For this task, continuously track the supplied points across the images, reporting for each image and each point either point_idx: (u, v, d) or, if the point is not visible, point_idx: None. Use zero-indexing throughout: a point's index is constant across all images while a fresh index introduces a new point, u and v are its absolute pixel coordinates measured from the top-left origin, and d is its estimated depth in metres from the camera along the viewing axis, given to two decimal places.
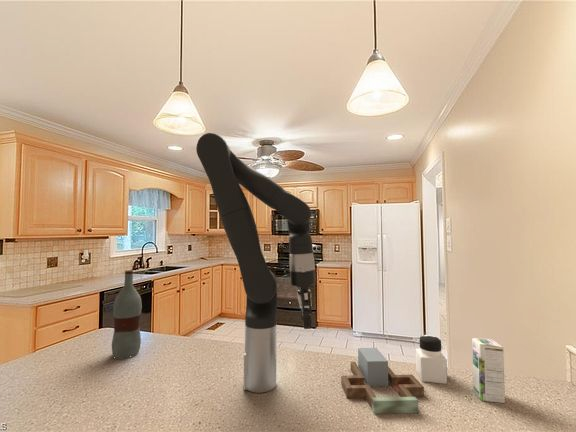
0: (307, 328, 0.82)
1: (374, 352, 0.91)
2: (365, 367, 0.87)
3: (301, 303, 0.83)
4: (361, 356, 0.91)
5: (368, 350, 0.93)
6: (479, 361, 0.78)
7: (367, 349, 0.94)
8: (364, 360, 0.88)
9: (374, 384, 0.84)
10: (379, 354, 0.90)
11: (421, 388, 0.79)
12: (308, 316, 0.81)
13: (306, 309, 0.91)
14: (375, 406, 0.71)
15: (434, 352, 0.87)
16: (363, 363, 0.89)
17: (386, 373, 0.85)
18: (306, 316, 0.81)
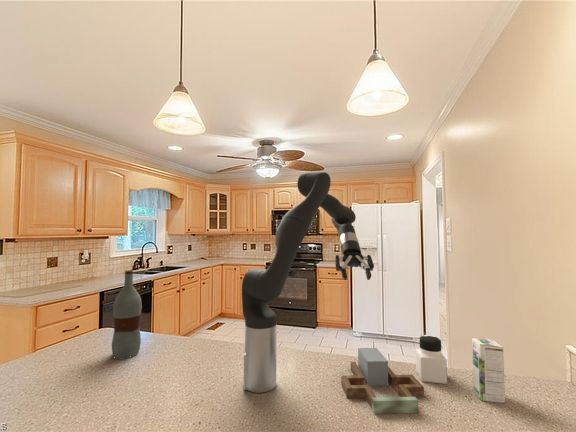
0: (369, 278, 1.08)
1: (374, 352, 0.91)
2: (365, 367, 0.87)
3: None
4: (361, 356, 0.91)
5: (368, 350, 0.93)
6: (479, 361, 0.78)
7: (367, 349, 0.94)
8: (364, 360, 0.88)
9: (374, 384, 0.84)
10: (379, 354, 0.90)
11: (421, 388, 0.79)
12: None
13: None
14: (375, 406, 0.71)
15: (434, 352, 0.87)
16: (363, 363, 0.89)
17: (386, 373, 0.85)
18: (369, 270, 1.10)
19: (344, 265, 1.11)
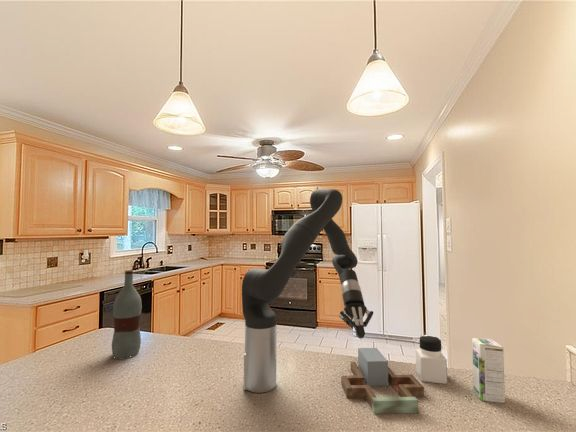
0: (363, 336, 1.01)
1: (374, 352, 0.91)
2: (365, 367, 0.87)
3: None
4: (361, 356, 0.91)
5: (368, 350, 0.93)
6: (479, 361, 0.78)
7: (367, 349, 0.94)
8: (364, 360, 0.88)
9: (374, 384, 0.84)
10: (379, 354, 0.90)
11: (421, 388, 0.79)
12: None
13: None
14: (375, 406, 0.71)
15: (434, 352, 0.87)
16: (363, 363, 0.89)
17: (386, 373, 0.85)
18: None
19: (356, 321, 1.05)
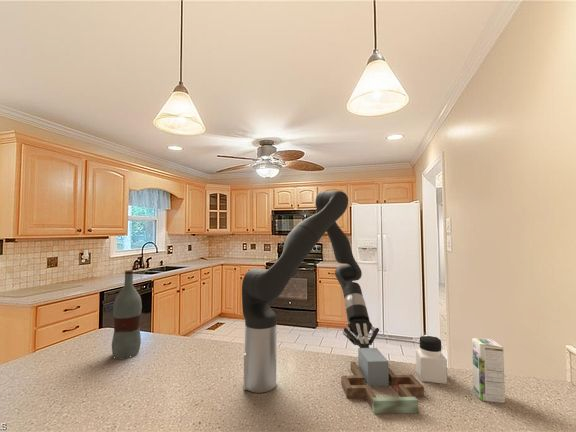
0: None
1: (375, 352, 0.91)
2: (365, 367, 0.87)
3: None
4: (361, 356, 0.91)
5: (368, 350, 0.93)
6: (479, 361, 0.78)
7: (367, 349, 0.94)
8: (364, 360, 0.88)
9: (374, 384, 0.84)
10: (379, 354, 0.90)
11: (421, 388, 0.79)
12: None
13: None
14: (375, 406, 0.71)
15: (434, 352, 0.87)
16: (363, 363, 0.89)
17: (386, 373, 0.85)
18: None
19: (360, 339, 0.98)
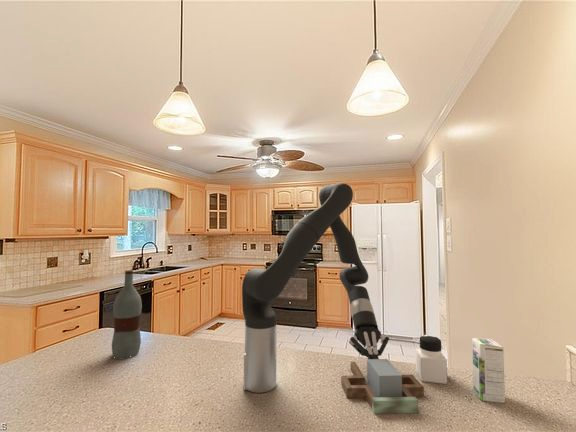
0: None
1: (386, 364, 0.82)
2: (376, 382, 0.78)
3: None
4: (371, 369, 0.82)
5: (378, 362, 0.84)
6: (479, 361, 0.78)
7: (377, 360, 0.85)
8: (375, 374, 0.79)
9: None
10: (391, 367, 0.81)
11: (421, 388, 0.79)
12: None
13: None
14: (375, 406, 0.71)
15: (434, 352, 0.87)
16: (374, 377, 0.80)
17: (400, 389, 0.76)
18: None
19: (369, 349, 0.90)
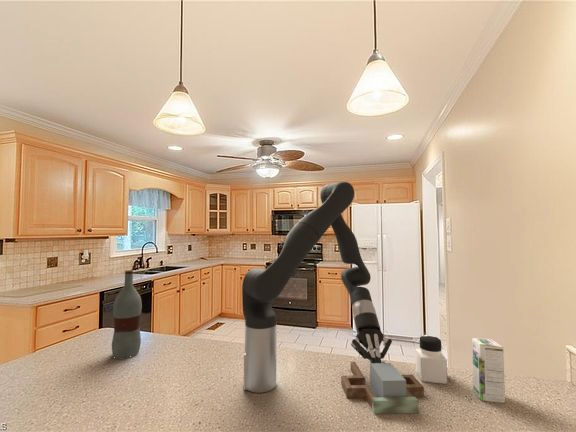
0: None
1: (389, 369, 0.80)
2: (379, 387, 0.76)
3: (378, 346, 0.89)
4: (374, 373, 0.80)
5: (381, 366, 0.81)
6: (479, 361, 0.78)
7: (380, 364, 0.83)
8: (378, 378, 0.77)
9: None
10: (395, 371, 0.79)
11: (421, 388, 0.79)
12: None
13: None
14: (375, 406, 0.71)
15: (434, 352, 0.87)
16: (377, 382, 0.78)
17: (404, 394, 0.74)
18: None
19: (371, 352, 0.87)
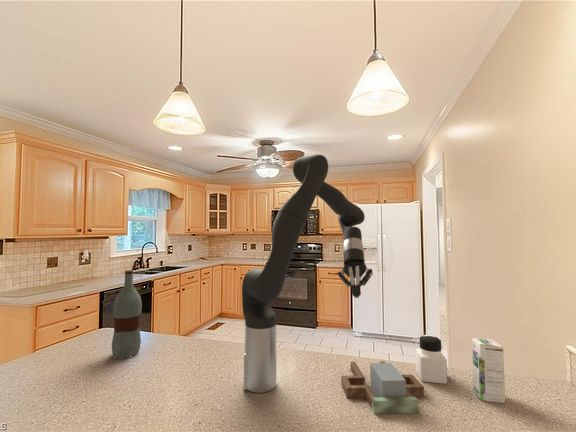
0: (358, 296, 0.99)
1: (389, 369, 0.80)
2: (379, 387, 0.76)
3: (359, 276, 1.02)
4: (374, 373, 0.80)
5: (381, 366, 0.81)
6: (479, 361, 0.78)
7: (381, 364, 0.83)
8: (378, 378, 0.77)
9: None
10: (395, 371, 0.78)
11: (421, 388, 0.79)
12: None
13: None
14: (375, 406, 0.71)
15: (434, 352, 0.87)
16: (377, 382, 0.78)
17: (404, 394, 0.74)
18: (360, 286, 1.01)
19: (352, 280, 1.02)
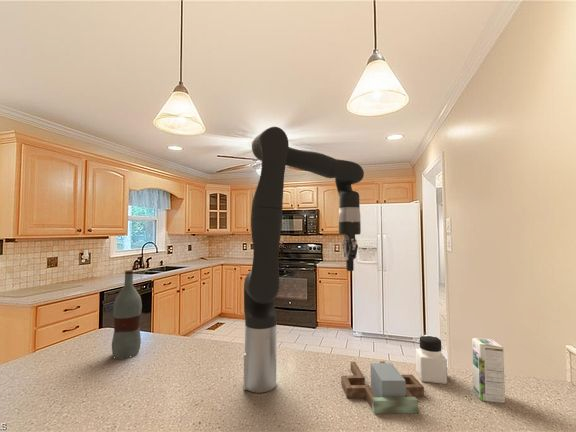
0: (350, 270, 1.01)
1: (390, 369, 0.80)
2: (379, 387, 0.76)
3: (347, 250, 1.00)
4: (374, 373, 0.80)
5: (382, 366, 0.81)
6: (479, 361, 0.78)
7: (381, 364, 0.83)
8: (378, 378, 0.77)
9: None
10: (395, 371, 0.78)
11: (421, 388, 0.79)
12: (352, 260, 1.00)
13: None
14: (375, 406, 0.71)
15: (434, 352, 0.87)
16: (377, 381, 0.78)
17: (403, 394, 0.73)
18: (350, 260, 1.00)
19: (345, 254, 1.03)
